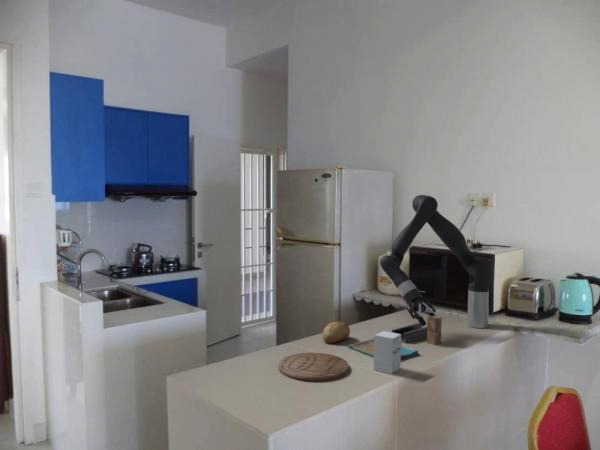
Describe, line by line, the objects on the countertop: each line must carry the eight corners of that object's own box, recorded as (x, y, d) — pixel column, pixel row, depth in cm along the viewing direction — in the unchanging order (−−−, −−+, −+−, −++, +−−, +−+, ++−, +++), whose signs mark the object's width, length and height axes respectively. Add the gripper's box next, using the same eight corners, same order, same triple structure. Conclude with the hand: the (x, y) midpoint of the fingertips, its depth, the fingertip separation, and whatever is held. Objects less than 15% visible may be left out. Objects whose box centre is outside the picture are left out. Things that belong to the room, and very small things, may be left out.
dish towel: (389, 365, 172) (390, 358, 172) (346, 349, 191) (346, 343, 191) (420, 356, 182) (420, 350, 182) (376, 341, 201) (376, 336, 201)
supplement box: (391, 374, 162) (392, 338, 161) (372, 369, 166) (373, 334, 166) (401, 368, 168) (401, 333, 167) (382, 364, 172) (383, 330, 171)
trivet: (354, 361, 176) (354, 356, 176) (340, 386, 152) (340, 380, 152) (290, 354, 183) (291, 349, 183) (268, 377, 159) (268, 372, 159)
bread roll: (355, 338, 204) (356, 320, 204) (336, 346, 192) (336, 327, 192) (337, 334, 210) (337, 317, 210) (317, 342, 198) (317, 323, 198)
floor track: (419, 331, 216) (419, 322, 216) (433, 334, 210) (433, 326, 210) (391, 338, 204) (391, 329, 203) (405, 343, 198) (405, 333, 198)
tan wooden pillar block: (433, 340, 201) (434, 315, 201) (441, 342, 199) (441, 317, 198) (427, 342, 198) (427, 317, 198) (434, 345, 196) (434, 319, 195)
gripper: (404, 289, 201) (426, 321, 193) (424, 286, 210) (446, 316, 202) (394, 299, 205) (415, 331, 197) (414, 295, 214) (435, 325, 206)
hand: (430, 323), depth 199 cm, fingers open, 8 cm apart
